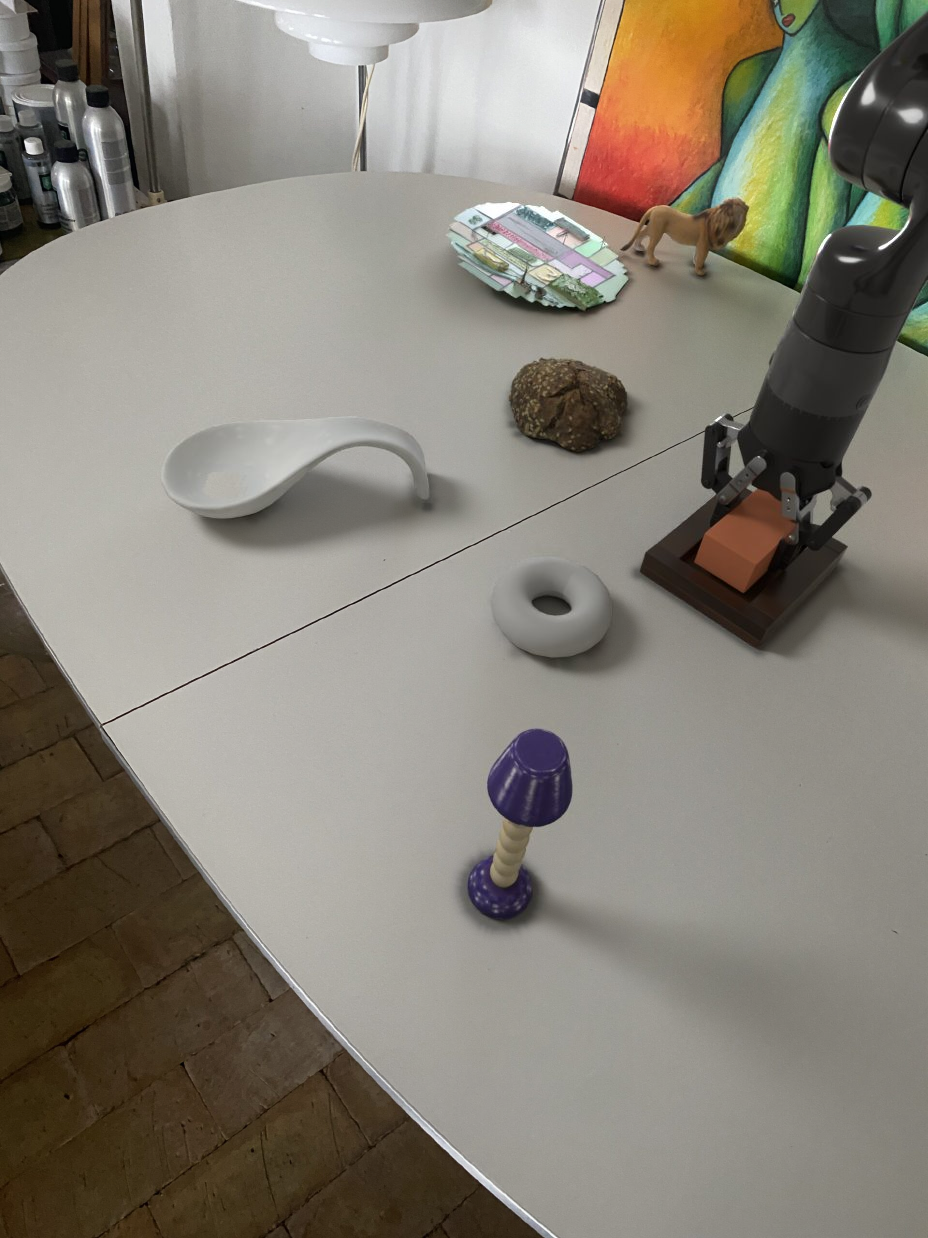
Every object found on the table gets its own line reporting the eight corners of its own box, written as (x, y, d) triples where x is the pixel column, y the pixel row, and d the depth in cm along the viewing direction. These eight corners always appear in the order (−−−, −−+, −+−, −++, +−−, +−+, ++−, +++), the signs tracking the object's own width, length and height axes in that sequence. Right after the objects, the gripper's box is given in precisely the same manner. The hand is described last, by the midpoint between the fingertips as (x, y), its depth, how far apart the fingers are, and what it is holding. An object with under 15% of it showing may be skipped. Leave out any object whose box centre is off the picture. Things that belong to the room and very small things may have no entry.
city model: (603, 352, 103) (619, 305, 98) (416, 290, 104) (423, 241, 99) (634, 259, 119) (650, 215, 114) (472, 206, 120) (481, 161, 115)
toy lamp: (505, 840, 59) (536, 697, 46) (555, 890, 57) (602, 754, 44) (453, 885, 57) (471, 748, 44) (503, 939, 55) (537, 810, 42)
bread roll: (517, 370, 96) (522, 329, 92) (629, 389, 95) (639, 348, 91) (496, 440, 87) (501, 398, 84) (619, 462, 86) (629, 420, 83)
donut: (472, 644, 70) (592, 681, 68) (474, 616, 68) (598, 654, 66) (511, 563, 77) (621, 595, 75) (514, 534, 74) (629, 566, 72)
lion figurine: (730, 261, 115) (751, 191, 108) (731, 280, 112) (753, 210, 105) (620, 245, 116) (634, 175, 110) (617, 263, 113) (632, 193, 106)
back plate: (724, 499, 84) (732, 479, 82) (837, 565, 79) (848, 545, 77) (639, 571, 77) (645, 551, 75) (756, 649, 72) (766, 629, 70)
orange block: (748, 514, 79) (760, 484, 77) (797, 542, 77) (811, 513, 75) (693, 562, 75) (704, 532, 72) (743, 593, 73) (756, 564, 70)
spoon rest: (163, 544, 75) (145, 480, 70) (172, 457, 83) (156, 393, 77) (435, 527, 79) (438, 465, 73) (420, 445, 86) (421, 383, 81)
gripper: (935, 406, 62) (842, 571, 75) (761, 322, 68) (702, 489, 81) (888, 450, 58) (798, 617, 71) (708, 358, 64) (655, 527, 77)
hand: (747, 548), depth 76 cm, fingers closed on orange block, 5 cm apart
